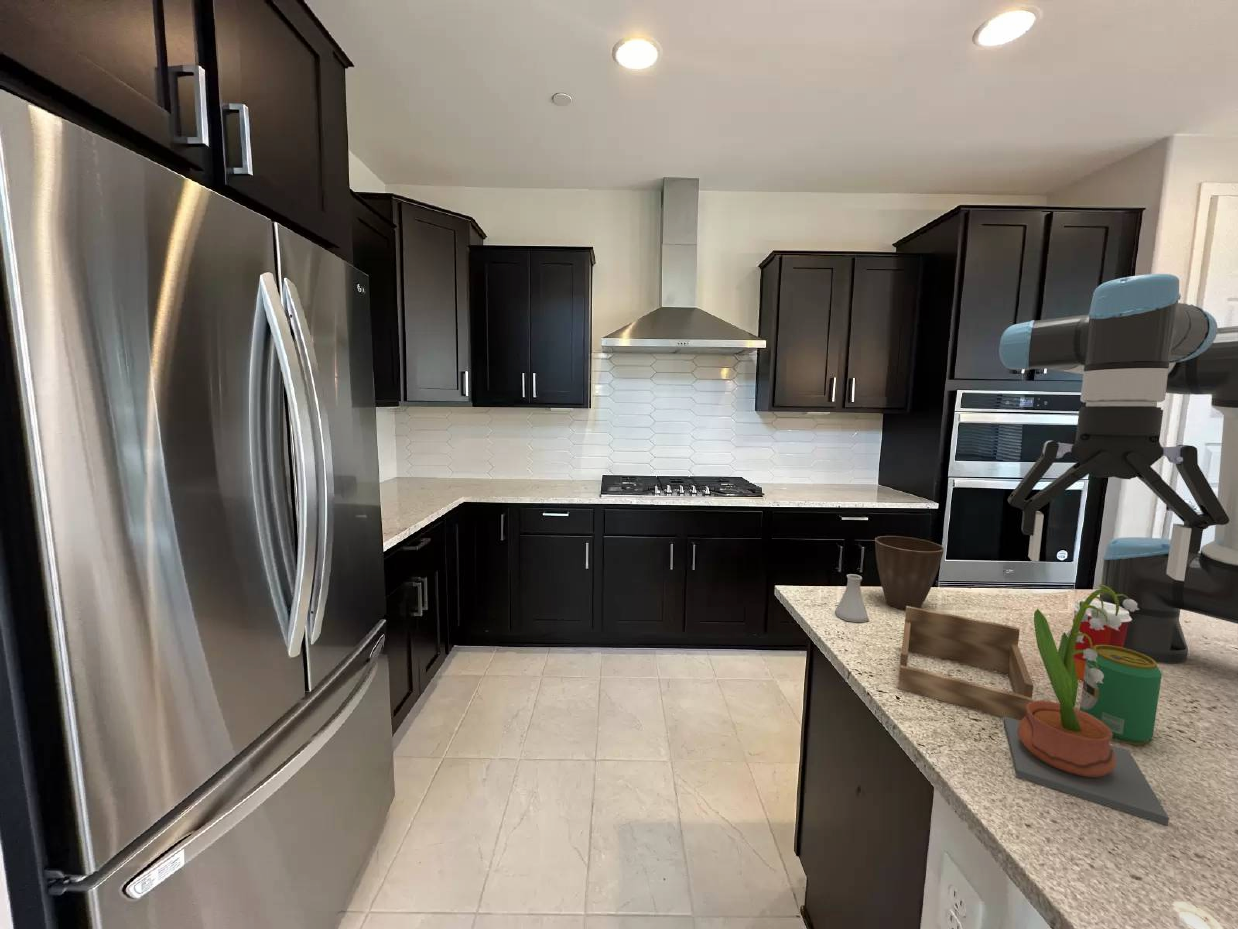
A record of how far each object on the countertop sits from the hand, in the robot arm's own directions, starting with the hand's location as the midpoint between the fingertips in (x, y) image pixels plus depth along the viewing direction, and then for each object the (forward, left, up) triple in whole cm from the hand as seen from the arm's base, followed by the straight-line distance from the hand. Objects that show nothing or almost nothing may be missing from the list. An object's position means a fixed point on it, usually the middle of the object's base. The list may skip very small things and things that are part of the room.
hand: (1100, 567), depth 65 cm
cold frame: (+13, -17, -28) cm, 35 cm away
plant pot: (+23, -53, -28) cm, 64 cm away
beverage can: (-7, -14, -28) cm, 32 cm away
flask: (+33, -37, -28) cm, 57 cm away
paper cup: (-8, -32, -28) cm, 44 cm away
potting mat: (0, 0, -28) cm, 28 cm away
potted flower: (+1, 0, -27) cm, 27 cm away
